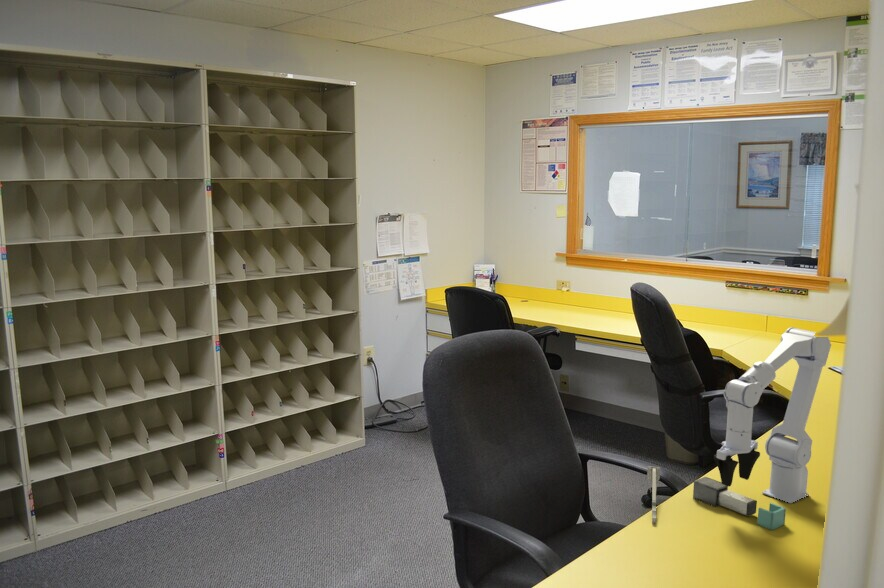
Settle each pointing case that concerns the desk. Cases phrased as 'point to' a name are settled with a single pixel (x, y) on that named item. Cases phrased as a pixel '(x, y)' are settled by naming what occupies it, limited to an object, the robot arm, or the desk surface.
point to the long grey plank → (736, 502)
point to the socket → (771, 517)
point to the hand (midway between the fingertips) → (735, 481)
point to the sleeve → (707, 490)
